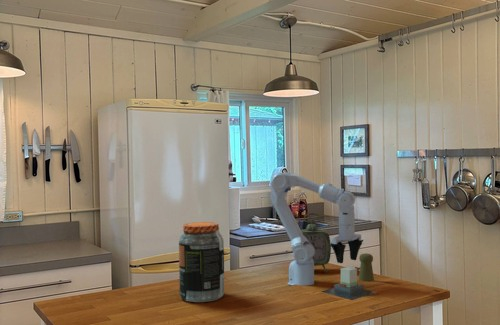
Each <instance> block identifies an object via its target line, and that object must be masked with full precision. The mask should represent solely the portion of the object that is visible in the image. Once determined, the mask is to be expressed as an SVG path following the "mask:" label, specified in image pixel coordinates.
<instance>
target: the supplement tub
mask: <svg viewBox="0 0 500 325" xmlns="http://www.w3.org/2000/svg"><path fill="white" fill-rule="evenodd" d="M182 231H183V233H182V235H181V236H180V237H179V239H178V240H179V241H178V253H179V254H178V263H179V265H178V266H179V267H178V268H179V269H178V270H179V296H180V298H182V299H183V300H184V301H186V302H193V303H205V302H207V303H208V302H213V301H214V302H215V301H217V300H219V299H221V298H222V297H223V296H224V295H225V255H224V254H225V249H224V247H225V246H224V245H225V244H224V243H225V242H224V238H223V235H222V234H221V233H220V227H219V223H218V222H212V221H202V222H201V221H200V222H199V221H198V222H197V221H195V222H187V223H184V224H183V228H182Z"/></svg>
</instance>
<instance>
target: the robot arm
mask: <svg viewBox="0 0 500 325" xmlns="http://www.w3.org/2000/svg"><path fill="white" fill-rule="evenodd" d="M269 184H270V201H271V204H272V206H273V207H274V209H275V211H276V213H277V215H278V217H279V219H280V221H281V224H282V226H283V227H284V229H285V231H286V233H287V236H288V237H289V238H288V239H289V240H290V246H291V249H292V253H293V255H292V257H293V259H294V260H292V261H291V262H290V263H289V267H288V282H287V285H289V286H294V285H297V286H305V287H306V286H313V285H314V284H315V266H314V260H313V258H312V257H313V256H314V254H315V248H314V247H313V245H312V244H310V243H309V241H308V240H307V238H306V237H305V236H304V235H303V234H302V232H301V230H302V229H301V228H300V226H299V224H298V222H297V220H296V218H295V215H294V214H293V211H292V209H291V208H290V206H289V204H288V202H287V199H286V197H287V195H288V192H289V191H290V189H291V188H293V187H294V188H295V187H301V188H302V189H305V190H308V191H311V192H314V193H317V194H318V196H319V198H320V199H323V200H325V201H328V202H330V203H333V204H335V205H338V236H335V237H332V238H331V242H330V243H331V249H332V250H333V252H334V256H335V258H336V262H337V263H338V264H343V263H344V257H345V256H344V254H345V249H346V247H347V245H346V244H343V243H348V248H349V258H350V260H352V261H357V258H358V254H359V251H360V249H361V246H362V244H363V241H362V233H361V234H360V233H356V234H355V220H356V219H355V205H354V204H355V202H356V196H355V194H354V193H353V192H351V191H349V190H345V189H344V188H339V187H336V186H333V183H331V182H330V183H329V182H328V183H323V184H319V183H317V182H314V181H312V180H311V179H307V178H305V177H303V176H301V175H297V174H296V173H295V174H294V173H290V172H288V171H285V172H278V173H275V174H274V175H273V177H272V179H271V181H270V182H269Z"/></svg>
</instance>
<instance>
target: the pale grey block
mask: <svg viewBox="0 0 500 325" xmlns="http://www.w3.org/2000/svg"><path fill="white" fill-rule="evenodd" d="M339 283H340V284H341V283H342V284H346V287H349V288H351V287H354V286H357V284H358V269H357V268H356V267H351V266H346V267H342V268H340V282H339Z"/></svg>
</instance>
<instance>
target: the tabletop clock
mask: <svg viewBox="0 0 500 325" xmlns="http://www.w3.org/2000/svg"><path fill="white" fill-rule="evenodd" d="M311 215H313V216H317V217H318V220H316V221H314V219H310V220H307V219H306V217H307V216H311ZM320 220H321V216H320V215H319V214H318V213H315V212H310V213H306V214H305V215H304V217H303V221H305V223H308V224H307V225H306V227H305V228H304V229H300V230H301V232H302V234H303V235H304V236H305V237H306V238H307V240H308V241H309V243H310V244H312V245H313V247H314V248H315V254H314V256H313V257H312V258H313V260H314V267H316V266H322V267H323V272H324V273H328V271H329V270H328V269H327V268H326V267H325V265H328V264H329V262H330V259H331V253H332V252H331V250H332V246H331V243H332V242H331V237H330V235H329V233H328V232H327V231H326V230H323V229H320V228H319V227H318V225H317V224H316V223H318V222H319V221H320Z"/></svg>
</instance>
